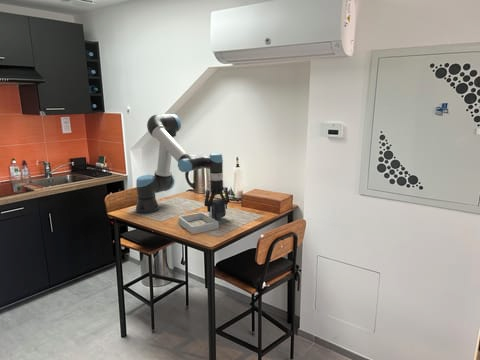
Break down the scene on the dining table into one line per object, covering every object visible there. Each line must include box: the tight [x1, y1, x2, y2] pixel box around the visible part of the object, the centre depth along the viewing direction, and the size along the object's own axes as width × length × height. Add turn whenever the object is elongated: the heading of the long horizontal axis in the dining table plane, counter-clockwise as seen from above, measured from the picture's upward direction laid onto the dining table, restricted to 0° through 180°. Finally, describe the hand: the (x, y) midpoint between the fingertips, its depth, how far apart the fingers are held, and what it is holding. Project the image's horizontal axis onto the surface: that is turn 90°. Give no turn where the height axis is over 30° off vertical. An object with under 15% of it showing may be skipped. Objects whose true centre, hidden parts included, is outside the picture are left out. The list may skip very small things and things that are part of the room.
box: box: [211, 198, 226, 219], centre depth 211 cm, size 8×6×11 cm
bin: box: [177, 211, 220, 235], centre depth 203 cm, size 22×16×4 cm
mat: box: [214, 216, 230, 225], centre depth 212 cm, size 12×10×1 cm
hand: (217, 215), depth 212 cm, fingers closed on box, 9 cm apart
